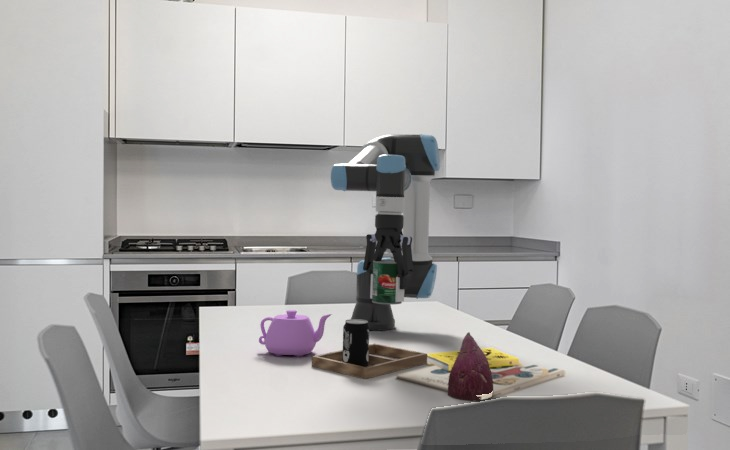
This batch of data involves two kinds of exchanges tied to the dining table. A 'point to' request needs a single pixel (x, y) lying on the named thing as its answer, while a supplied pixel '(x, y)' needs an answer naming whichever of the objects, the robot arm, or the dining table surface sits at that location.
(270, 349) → the teapot
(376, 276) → the canned tomato
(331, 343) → the dining table surface
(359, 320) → the beverage can
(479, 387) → the vegetable
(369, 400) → the dining table surface
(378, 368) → the tray
